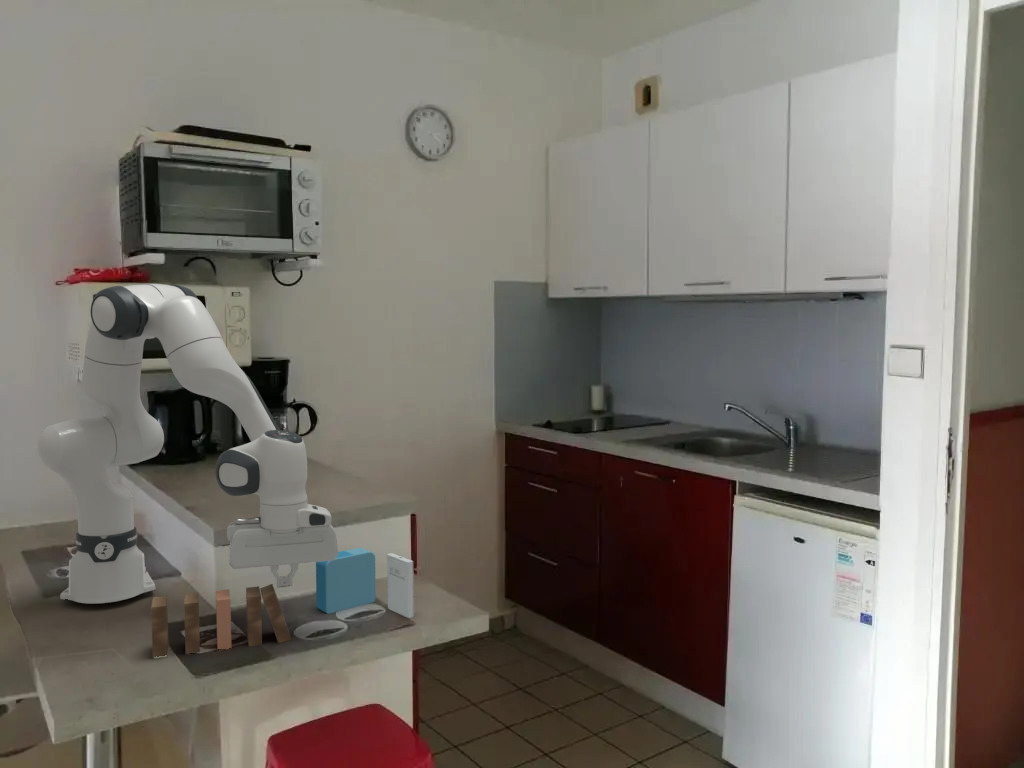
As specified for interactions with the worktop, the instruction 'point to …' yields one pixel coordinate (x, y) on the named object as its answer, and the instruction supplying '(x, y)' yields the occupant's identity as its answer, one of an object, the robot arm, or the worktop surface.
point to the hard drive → (400, 585)
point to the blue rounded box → (346, 581)
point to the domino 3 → (223, 619)
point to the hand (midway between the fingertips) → (284, 586)
